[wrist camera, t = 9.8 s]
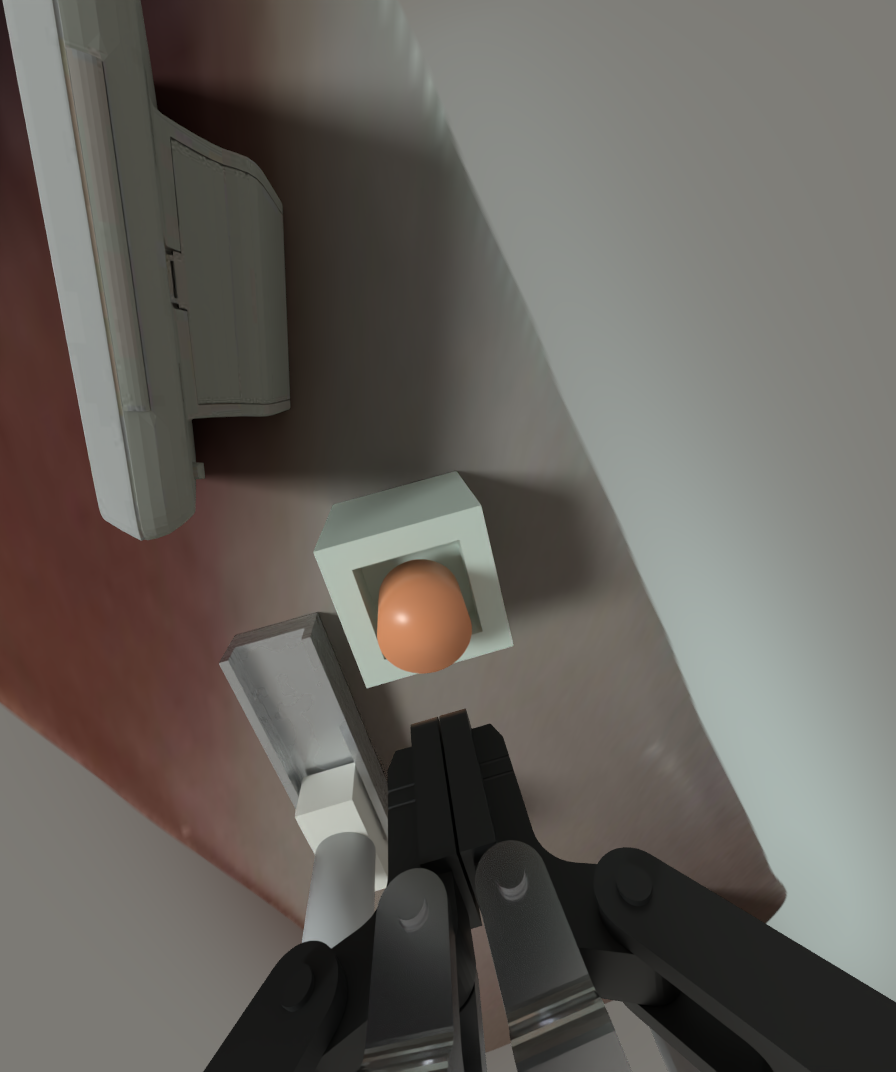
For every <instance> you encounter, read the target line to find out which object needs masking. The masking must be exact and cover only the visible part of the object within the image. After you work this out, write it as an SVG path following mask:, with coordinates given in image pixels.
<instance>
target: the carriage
mask: <svg viewBox="0 0 896 1072" xmlns="http://www.w3.org/2000/svg"><path fill="white" fill-rule="evenodd" d="M295 819H296V820H297V822H298V824H299V826H300V828H301V830H302V832H303V833H304V835H305V837H306V839H307V841H308V843H309V845H310V847H311V848H312V850H313V852H314V854H315V859H314V865H313V872H312V879H311V885H310V892H309V899H308V905H307V912H306V919H305V925H304V932H303V939H302V943H303V942H307V941H321V942H323V943H325V944H327V945H328V946H329V947H330V948H333V947H334V946H335V945H337V944H338V943H340V942H341V941H342V940H344V939H345V938H346V937H348V936H349V935H351V934H352V933H353V932H355V931H356V930H357V929H359V928H360V927H361V926H362V925H364V924H365V923H366V922H367V921H368V920H369V919H370V918H371V916H372V915H373V914H374V900H375V891H377V890H381V889H384V888H386V886H387V881H388V838H387V836H386V833H385V831H384V829H383V827H382V824H381V822H380V820H379V817H378V815H377V813H376V811H375V808H374V806H373V804H372V801H371V799H370V797H369V794H368V792H367V790H366V788H365V785H364V783H363V781H362V778H361V776H360V774H359V772H358V769H357V767H356V765H355V762H353V763H350V764H347V765H343V766H340V767H337V768H333V769H330V770H326V771H323V772H320V773H316V774H313V775H309V776H306V777H303V779H302V784H301V789H300V794H299V798H298V803H297V808H296V813H295Z"/></svg>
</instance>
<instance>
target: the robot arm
mask: <svg viewBox="0 0 896 1072" xmlns="http://www.w3.org/2000/svg"><path fill="white" fill-rule="evenodd" d="M439 718H440V721H439V719H438V717H435V718H432V719H428V720H425V721H421V722H418V723H415V724H411V743H412V747H409V748H405V749H402V750H399V751H395V754H394V756H393V759H392V761H391V764H390V766H389V769H388V881H387V886H386V889H385V890H384V892H383V894H382V896H381V898H380V900H379V903H378V907H377V909H376V911H375V912H374V914H373V915H372V916H371V918H370V919H369V920H368V921H367V922H366V923H365V924H364V925H362V926H361V927H360V928H359V929H357V930H356V931H355V932H353V933H352V934H351V935H349V936H348V937H346V938H345V939H344V940H342V941H341V942H340V943H338V944H337V945H335V946H334V947H333V948H330V947H329V946H328V945H327V944H325V943H323V942H321V941H307V942H303V943H302V944H299V945H297V946H295V947H294V948H292V949H291V950H290V951H289V952H288V953H286V954H285V955H284V956H283V957H282V958H281V959H280V960H279V962H278V963H277V964H276V966H275V967H274V968H273V970H272V971H271V973H270V974H269V976H268V977H267V979H266V980H265V982H264V983H263V984H262V986H261V987H260V989H259V990H258V992H257V993H256V995H255V996H254V998H253V999H252V1001H251V1002H250V1004H249V1005H248V1007H247V1008H246V1010H245V1011H244V1012H243V1014H242V1016H241V1017H240V1018H239V1020H238V1021H237V1023H236V1024H235V1026H234V1027H233V1029H232V1030H231V1032H230V1033H229V1035H228V1036H227V1038H226V1039H225V1041H224V1042H223V1043H222V1045H221V1046H220V1048H219V1049H218V1051H217V1052H216V1054H215V1055H214V1057H213V1058H212V1060H211V1061H210V1063H209V1064H208V1066H207V1067H206V1069H205V1070H204V1072H487V1067H486V1057H485V1056H486V1055H485V1044H484V1034H483V1023H482V1012H481V1001H480V990H479V979H478V973H477V970H476V961H475V954H474V947H473V941H472V934H471V929H472V928H476V927H479V926H482V922H481V917H480V911H481V914H482V917H483V921H484V925H485V929H486V933H487V938H488V942H489V946H490V950H491V954H492V958H493V962H494V966H495V970H496V974H497V979H498V983H499V987H500V991H501V995H502V999H503V1003H504V1007H505V1011H506V1016H507V1020H508V1025H509V1030H510V1040H511V1045H512V1050H513V1055H514V1059H515V1063H516V1068H517V1072H632V1071H631V1068H630V1066H629V1063H628V1061H627V1058H626V1056H625V1053H624V1051H623V1048H622V1046H621V1044H620V1041H619V1039H618V1036H617V1034H616V1031H615V1029H614V1026H613V1024H612V1022H611V1019H610V1017H609V1015H608V1012H607V1010H606V1008H605V1005H604V1003H603V1001H602V999H601V998H603V999H610V1000H616V1001H623V1003H624V1004H625V1005H626V1006H627V1007H628V1008H629V1009H630V1010H631V1011H632V1012H633V1013H634V1014H635V1015H636V1016H637V1017H639V1018H640V1019H641V1020H642V1021H643V1022H644V1023H645V1024H647V1025H648V1026H649V1027H650V1029H651V1032H652V1034H653V1037H654V1039H655V1042H656V1044H657V1047H658V1049H659V1052H660V1054H661V1057H662V1059H663V1061H664V1064H665V1066H666V1069H667V1071H668V1072H896V1002H894V1001H893V1000H891V999H889V998H888V997H886V996H884V995H883V994H881V993H879V992H878V991H876V990H874V989H873V988H871V987H869V986H868V985H866V984H864V983H863V982H861V981H859V980H858V979H856V978H855V977H853V976H851V975H850V974H848V973H846V972H845V971H843V970H841V969H840V968H838V967H836V966H835V965H833V964H831V963H830V962H828V961H826V960H825V959H823V958H821V957H820V956H818V955H816V954H815V953H813V952H811V951H810V950H808V949H806V948H805V947H803V946H802V945H800V944H798V943H796V942H795V941H793V940H791V939H790V938H788V937H787V936H785V935H783V934H782V933H780V932H778V931H777V930H775V929H773V928H772V927H770V926H768V925H767V924H765V923H763V922H762V921H760V920H758V919H757V918H755V917H753V916H752V915H750V914H748V913H747V912H745V911H743V910H742V909H740V908H738V907H737V906H735V905H734V904H732V903H730V902H729V901H727V900H725V899H724V898H722V897H720V896H719V895H717V894H715V893H714V892H712V891H710V890H709V889H707V888H705V887H704V886H702V885H700V884H699V883H697V882H695V881H694V880H692V879H690V878H689V877H687V876H685V875H684V874H682V873H680V872H679V871H677V870H675V869H674V868H672V867H670V866H669V865H667V864H665V863H664V862H662V861H661V860H659V859H657V858H656V857H654V856H652V855H651V854H649V853H647V852H645V851H642V850H639V849H635V848H624V847H623V848H617V849H614V850H612V851H610V852H608V853H607V854H605V855H604V856H603V857H602V858H601V860H600V861H599V862H598V864H588V863H575V862H568V861H565V860H561V859H559V858H557V857H555V856H553V855H552V854H550V853H549V852H547V851H546V850H545V849H544V848H543V847H542V846H541V844H540V843H539V842H538V840H537V839H536V837H535V835H534V832H533V830H532V827H531V823H530V820H529V817H528V814H527V811H526V808H525V805H524V801H523V798H522V795H521V792H520V789H519V786H518V783H517V779H516V776H515V773H514V770H513V767H512V764H511V761H510V758H509V754H508V751H507V748H506V745H505V742H504V739H503V736H502V735H501V734H500V733H499V732H498V731H497V730H496V729H495V728H494V727H493V726H492V725H491V724H487V725H484V726H480V727H477V728H473V729H472V728H471V725H470V721H469V718H468V715H467V711H466V709H462V710H459V711H455V712H452V713H448V714H445V715H442V716H439ZM479 908H480V911H479Z"/></svg>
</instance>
